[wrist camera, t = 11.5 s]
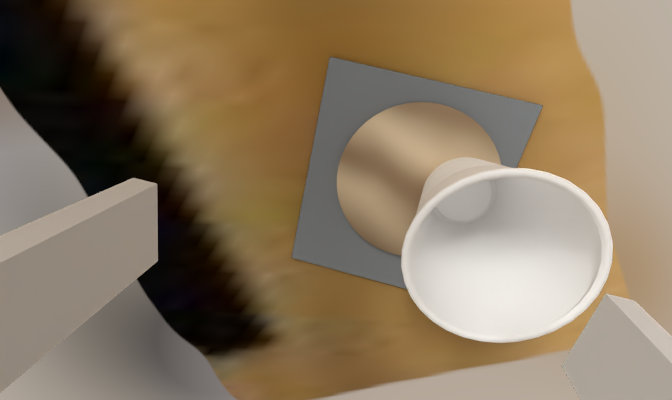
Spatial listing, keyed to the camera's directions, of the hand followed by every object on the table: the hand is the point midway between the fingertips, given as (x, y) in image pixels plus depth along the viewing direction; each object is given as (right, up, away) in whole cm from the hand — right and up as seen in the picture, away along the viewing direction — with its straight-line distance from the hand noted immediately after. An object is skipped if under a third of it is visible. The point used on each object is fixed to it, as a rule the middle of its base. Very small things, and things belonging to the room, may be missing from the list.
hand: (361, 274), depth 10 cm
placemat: (+5, +3, +19) cm, 20 cm away
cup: (+9, +3, +17) cm, 20 cm away
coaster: (+6, +4, +18) cm, 19 cm away
